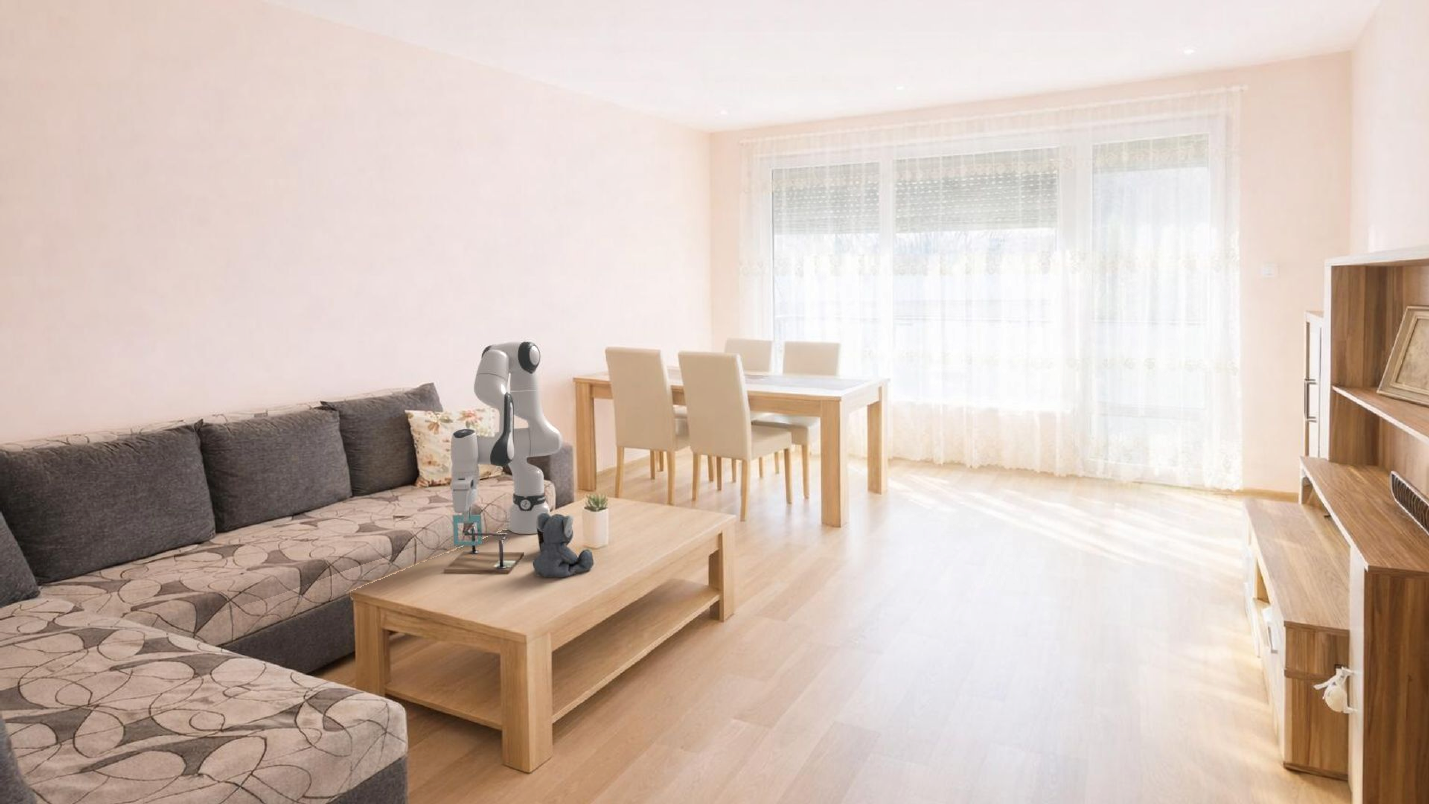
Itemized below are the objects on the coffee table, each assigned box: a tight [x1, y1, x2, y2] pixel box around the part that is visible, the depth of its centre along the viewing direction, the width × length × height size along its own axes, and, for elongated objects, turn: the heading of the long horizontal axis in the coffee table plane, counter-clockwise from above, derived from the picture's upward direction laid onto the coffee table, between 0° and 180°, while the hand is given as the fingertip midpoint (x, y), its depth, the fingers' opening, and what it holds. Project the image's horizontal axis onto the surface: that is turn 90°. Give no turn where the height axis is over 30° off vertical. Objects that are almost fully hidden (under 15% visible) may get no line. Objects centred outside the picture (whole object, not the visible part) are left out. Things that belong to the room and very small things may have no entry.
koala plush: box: [532, 512, 595, 579], centre depth 276 cm, size 17×18×20 cm
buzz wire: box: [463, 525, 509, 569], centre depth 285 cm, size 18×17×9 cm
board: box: [444, 551, 525, 575], centre depth 285 cm, size 18×21×1 cm
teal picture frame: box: [452, 514, 483, 547], centre depth 287 cm, size 1×9×10 cm, turn 94°
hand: (467, 519), depth 286 cm, fingers closed on teal picture frame, 1 cm apart
